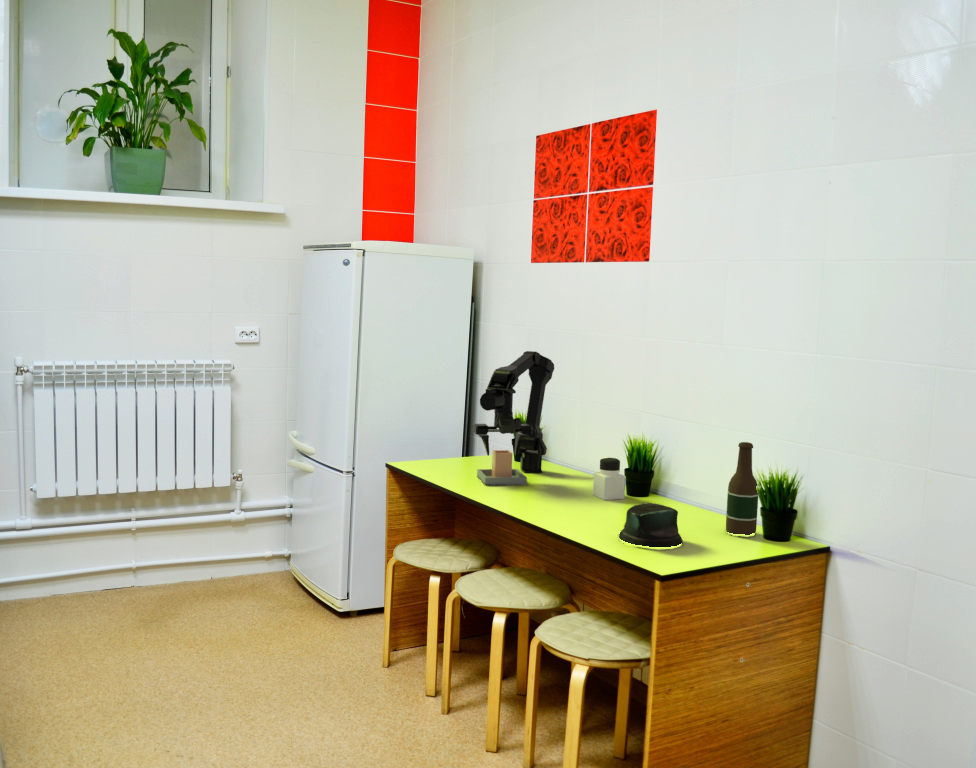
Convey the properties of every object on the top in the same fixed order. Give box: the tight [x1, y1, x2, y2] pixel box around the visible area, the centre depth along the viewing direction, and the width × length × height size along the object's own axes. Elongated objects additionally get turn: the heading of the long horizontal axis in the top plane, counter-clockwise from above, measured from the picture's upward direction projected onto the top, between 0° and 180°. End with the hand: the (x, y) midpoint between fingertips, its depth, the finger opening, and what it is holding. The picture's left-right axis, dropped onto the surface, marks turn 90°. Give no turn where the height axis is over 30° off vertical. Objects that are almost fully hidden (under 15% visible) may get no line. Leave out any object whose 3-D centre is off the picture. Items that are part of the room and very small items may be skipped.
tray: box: [476, 468, 528, 486], centre depth 278 cm, size 14×14×2 cm
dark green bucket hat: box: [618, 502, 683, 547], centre depth 212 cm, size 20×20×9 cm
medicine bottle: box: [592, 457, 626, 501], centre depth 259 cm, size 7×7×12 cm
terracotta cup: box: [491, 449, 513, 477], centre depth 278 cm, size 6×6×9 cm
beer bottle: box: [725, 441, 759, 535], centre depth 220 cm, size 8×8×24 cm
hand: (501, 455), depth 277 cm, fingers open, 9 cm apart
